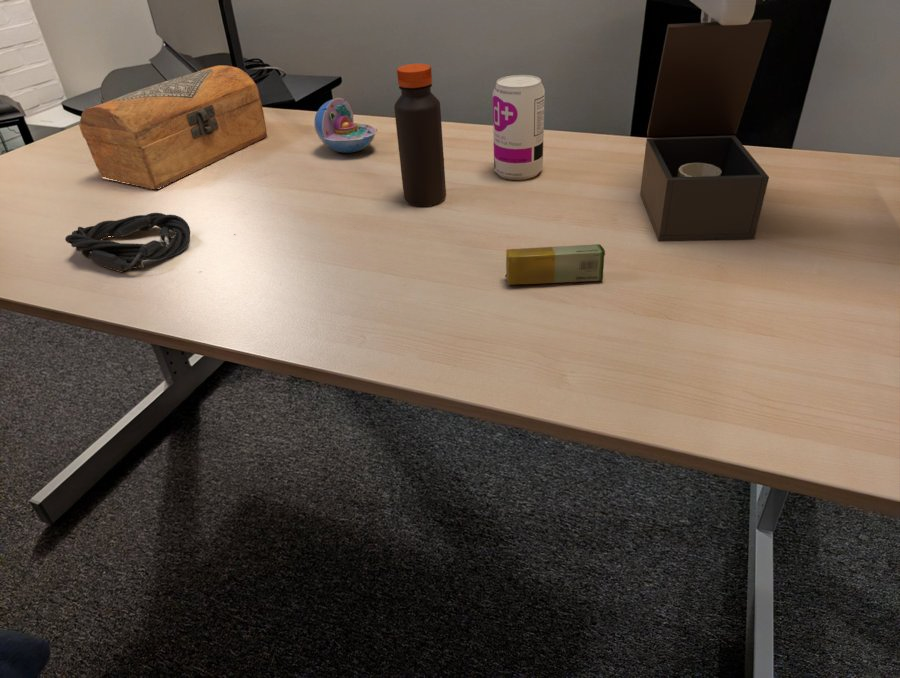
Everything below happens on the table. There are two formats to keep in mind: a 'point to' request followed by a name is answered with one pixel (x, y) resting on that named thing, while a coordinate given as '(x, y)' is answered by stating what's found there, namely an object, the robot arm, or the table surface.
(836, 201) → the table surface
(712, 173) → the creamer cup
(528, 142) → the supplement can
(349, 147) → the cell model
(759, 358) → the table surface
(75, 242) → the cable
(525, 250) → the medication box
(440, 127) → the bottle
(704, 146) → the open topped square crate
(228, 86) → the wooden box
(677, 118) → the dark brown box lid
